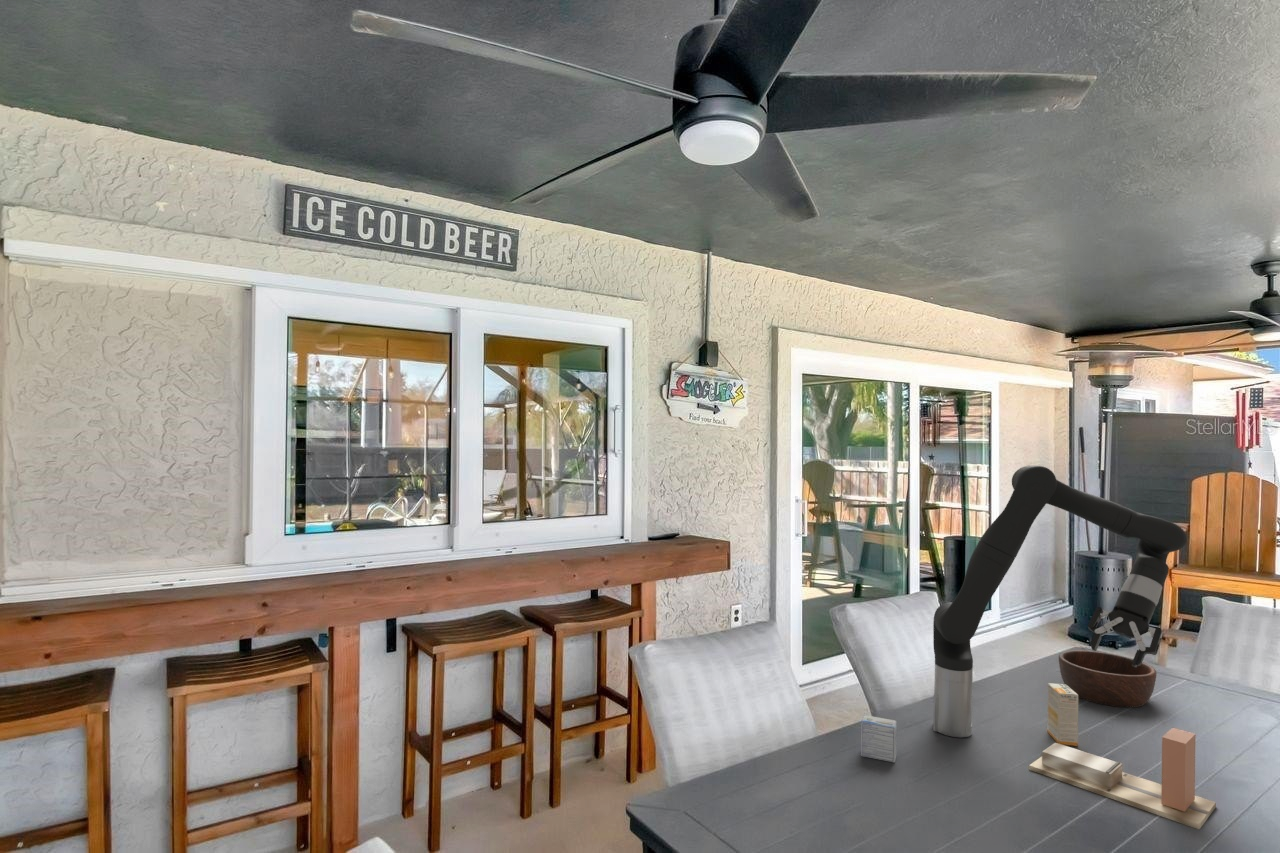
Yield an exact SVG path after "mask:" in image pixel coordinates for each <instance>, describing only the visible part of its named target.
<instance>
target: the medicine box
mask: <svg viewBox="0 0 1280 853" xmlns="http://www.w3.org/2000/svg"><path fill="white" fill-rule="evenodd" d="M860 724H861V725H860V726H861V728H860V730H861V733H860V734H861V736H860V756H861V757H863V758H870V759H876V760H880V761H884V762H889V763H896V759H897V750H898V748H897V742H898V741H897V735H898V734H897V732H898V731H897V729H898V727H897V726H898V725H897V724H898V722H897V720H894V719H888V718H883V717H879V716H872V715H863V717H862V719H861V723H860Z"/></svg>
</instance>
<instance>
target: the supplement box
mask: <svg viewBox="0 0 1280 853" xmlns="http://www.w3.org/2000/svg"><path fill="white" fill-rule="evenodd" d="M1046 718H1047V726H1046V727H1047V728H1046V730H1047V731H1046V732H1047V733H1048V734H1049V735H1050V736H1051V738H1052V739H1053V740H1054V741H1055V743H1058V744H1061V745H1065V746H1075V747H1078V746H1079V745H1078V744H1079V737H1078V736H1079V697H1078V694H1077V693H1075V692H1074V691H1073V690H1072V689H1071V688H1070V687H1068V686H1067V685H1065V684H1063V683H1052V682H1048V683H1047V717H1046Z"/></svg>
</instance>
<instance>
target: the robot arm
mask: <svg viewBox="0 0 1280 853" xmlns="http://www.w3.org/2000/svg"><path fill="white" fill-rule="evenodd" d="M1011 486H1012V489H1013V491H1012V493H1011V495H1010V497H1009V499H1008V502H1007V504H1006V506H1005V507H1004V509H1003V510H1002V511H1001V513H1000V514H999V515H998V516H997V517H996V518H995V519H994V520H993V522H992V523H991V524H990V525H989V526H988V527H987V529H986V530H985V531H984V533H983V534H982V536H981V537H980V539H979V541H978V543H977V544H976V547H975V548H974V550H973V552H972V554H971V555H970V558H969V560H968V564H967V566H966V572H965V576H964V579H963V583H962V585H961V588H960V589H959V592H958V593H957V595H956V596H955V598H954V600H953V601H952V602H948V601H947V602H945V603H942V604H941V605H939V606H938V607H937V608H936V610H935V612H934V616H933V623H932V624H933V626H932V628H933V629H932V630H933V632H932V633H933V642H932V643H933V652H934V690H933V692H934V693H933V723H932V725H933V726H932V728H933V729H932V730H933V732H938V733H940V734H942V735H944V736H948V737H953V738H968V737H970V736H971V735H972V734H973V733H972V732H973V724H972V723H973V675H974V674H973V672H974V671H973V668H974V665H973V664H974V660H973V654H972V649H971V639H972V638H973V637H974V636H975V634H976V632H977V631H978V627H979V625H980V623H981V621H982V618H983V615H984V614H985V611H986V609H987V607H988V605H989V603H990V601H991V599H992V597H993V596H994V594H995V593H996V591H997V590H998V588H999V586H1000V584H1001V583H1002V582H1003V580H1004V578H1005V576H1006V575H1007V573H1008V572H1009V571H1010V568H1011V566H1012V565H1013V563H1014V561H1015V559H1016V558H1017V556H1018V554H1019V551H1020V550H1021V548H1022V546H1023V543H1024V542H1025V541H1026V538H1027V536H1028V534H1029V531H1030V530H1031V527H1032V526H1033V523H1034V522H1035V520H1036V518H1037V517H1038V515H1039V514H1040V513H1041V512H1042V510H1043V509H1044V508H1045V506H1046V505H1050V506H1052V507H1056V508H1058V509H1061V510H1064V511H1065V512H1069V513H1071V514H1073V515H1075V516H1076V517H1078V518H1081V519H1083V520H1086V521H1087V522H1089V523H1092V524H1094V525H1095V526H1098V527H1100V528H1102V529H1104V530H1107V531H1109V532H1111V533H1114V534H1116V535H1119V536H1121V537H1123V538H1133V539H1138V544H1137V549H1136V553H1135V554H1136V555H1135V556H1136V557H1135V561H1134V563H1133V565H1132V567H1131V570H1130V572H1129V574H1128V576H1127V577H1126V579H1125V581H1124V583H1123V585H1122V587H1121V590H1120V592H1119V595H1118V597H1117V599H1116V601H1115V604H1114V606H1113V608H1112V610H1111V611H1108V610H1105V609H1103V608H1102V607H1101V606H1098V607H1096V608H1095V610H1094V612H1093V614H1092V616H1091V618H1090V620H1089V622H1088V624H1087V628H1088V630H1090V632H1092V633H1093V635H1092V637H1091V640H1090V641H1089V646H1090V647H1091V651H1097V650H1098V648H1099V646H1100V642H1101V641H1102V637H1103V636H1105V635H1107V634H1111V633H1113V632H1114V633H1115V634H1117V635H1119V636H1124V637H1126V638H1128V639H1135V642H1136V644H1137V646H1138V649H1137V650H1136V652H1135V654H1134V657H1133V658H1132V659H1133V661H1132V666H1133V667H1137V666H1140V665H1141V664H1142V662H1143V661H1144V659H1145V656H1146V655H1152V656H1156V655H1157V654H1158V651H1159V648H1160V645H1161V642H1162V639H1163V631H1162V629H1161V628H1160V627H1157V628H1155V627H1152V626H1150V622H1151V620H1152V617H1153V615H1154V612H1155V610H1156V607H1157V606H1158V603H1160V602H1159V601H1160V597H1161V594H1162V591H1163V587H1164V585H1165V583H1166V580H1167V577H1168V575H1169V570H1170V568H1169V567H1170V566H1169V565H1168V564H1167V563H1166V562H1167V559H1168V556H1169V554H1171V553H1172V552H1173V553H1174V552H1176V551H1179V550H1181V549H1183V548H1184V547H1185V546H1186V544H1187V542H1188V536H1187V533H1186V532H1185V530H1184V529H1183V528H1182V527H1181V526H1179V525H1178V524H1176V523H1174V522H1172V521H1169V520H1167V519H1165V518H1161V517H1156V516H1153V515H1148V514H1145V513H1140V512H1137V511H1135V510H1134V509H1131V508H1128V507H1126V506H1125V505H1121V504H1119V503H1117V502H1114V501H1111V500H1109V499H1106V498H1103V497H1101V496H1097V495H1094V494H1091V493H1088V492H1085V491H1083V490H1079V489H1077V488H1075V487H1072V486H1070V485H1068V484H1066V483H1063V482H1062V481H1060V480H1058V479H1057V477H1056V475H1055V473H1054V472H1053V471H1052V470H1051V469H1050V468H1049V467H1046V466H1044V465H1034V464H1032V465H1031V464H1030V465H1026V466H1025V465H1024V466H1022V467H1020V468H1018V469H1017V470H1015V472H1014V473H1013V474H1012V476H1011ZM1107 617H1108V620H1109V621H1108V622H1106V623H1104V624H1103V625H1102V626H1100V627H1098V626H1099V623H1100V621H1101V619H1102V620H1103V619H1105V618H1107ZM1097 627H1098V628H1097ZM1148 632H1149V633H1150V636H1151V638H1152V639H1151V642H1150V645H1149V646H1146V645H1145V643H1144V640H1143V638H1142V636H1143V635H1145V634H1146V633H1147V634H1148Z"/></svg>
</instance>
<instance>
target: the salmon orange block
mask: <svg viewBox="0 0 1280 853" xmlns="http://www.w3.org/2000/svg"><path fill="white" fill-rule="evenodd" d="M1196 737H1197V736H1196V733H1194V732H1189V731H1186V730H1182V729H1179V728H1175V727H1172V728H1170V729H1169V730H1168V731H1167V732H1166V733H1165V734H1163V736H1162V738H1161V739H1162V740H1161V785H1162V793H1161V804H1163V805H1166V806H1169V807H1172V808H1175V809H1178V810H1181V811H1184V812H1185V811H1186V810H1187V808H1188V807H1189V806H1190V805H1191V804H1192V802H1193V801H1194V800H1195V796H1196Z"/></svg>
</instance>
